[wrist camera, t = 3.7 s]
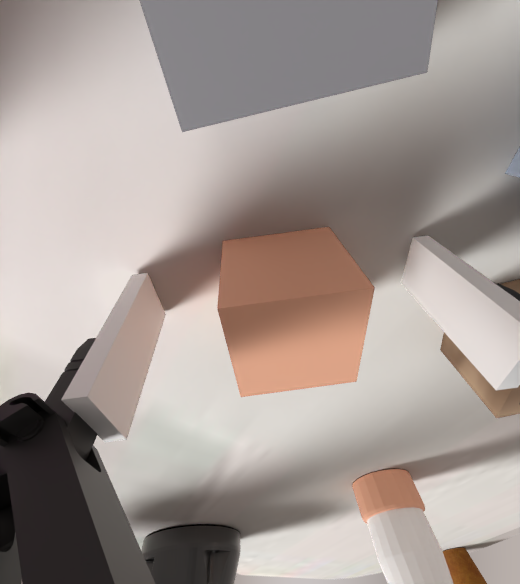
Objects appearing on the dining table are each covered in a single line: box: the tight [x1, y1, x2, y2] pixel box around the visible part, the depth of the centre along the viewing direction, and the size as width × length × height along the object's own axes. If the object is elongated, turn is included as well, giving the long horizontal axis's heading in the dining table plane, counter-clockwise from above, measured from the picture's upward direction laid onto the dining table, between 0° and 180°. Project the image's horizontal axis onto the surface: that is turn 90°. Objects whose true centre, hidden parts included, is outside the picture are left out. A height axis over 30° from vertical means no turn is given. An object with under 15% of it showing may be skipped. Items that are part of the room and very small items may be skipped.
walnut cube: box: [441, 279, 520, 418], centre depth 15 cm, size 5×5×5 cm
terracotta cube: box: [218, 227, 374, 397], centre depth 12 cm, size 5×5×5 cm
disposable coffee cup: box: [443, 547, 487, 584], centre depth 67 cm, size 10×10×12 cm
